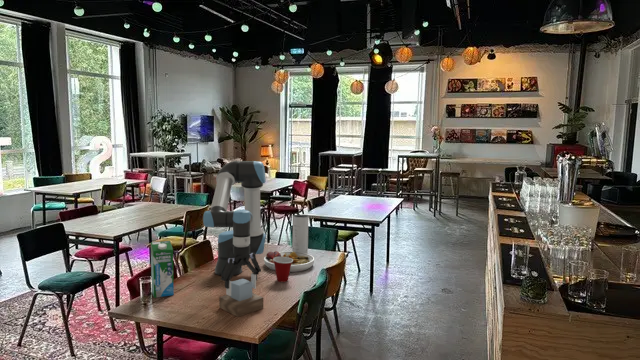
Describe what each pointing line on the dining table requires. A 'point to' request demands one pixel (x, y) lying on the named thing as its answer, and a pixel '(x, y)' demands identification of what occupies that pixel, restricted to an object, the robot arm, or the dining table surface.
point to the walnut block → (241, 304)
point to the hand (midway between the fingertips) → (241, 291)
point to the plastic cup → (282, 268)
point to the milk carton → (162, 269)
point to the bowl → (299, 259)
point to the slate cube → (241, 289)
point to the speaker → (300, 233)
